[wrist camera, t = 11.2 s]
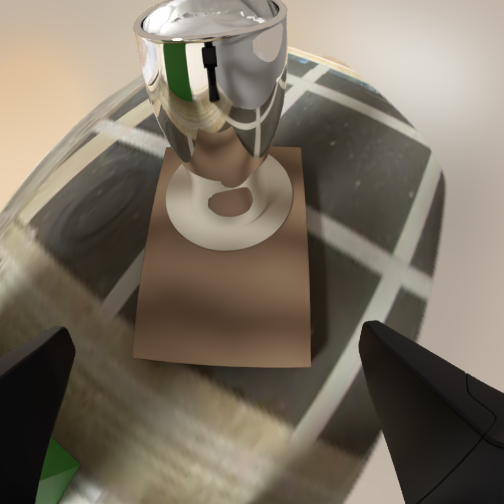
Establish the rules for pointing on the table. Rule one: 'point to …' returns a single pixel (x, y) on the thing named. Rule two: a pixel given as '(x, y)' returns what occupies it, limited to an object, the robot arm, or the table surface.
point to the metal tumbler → (217, 96)
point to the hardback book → (55, 474)
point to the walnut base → (227, 277)
